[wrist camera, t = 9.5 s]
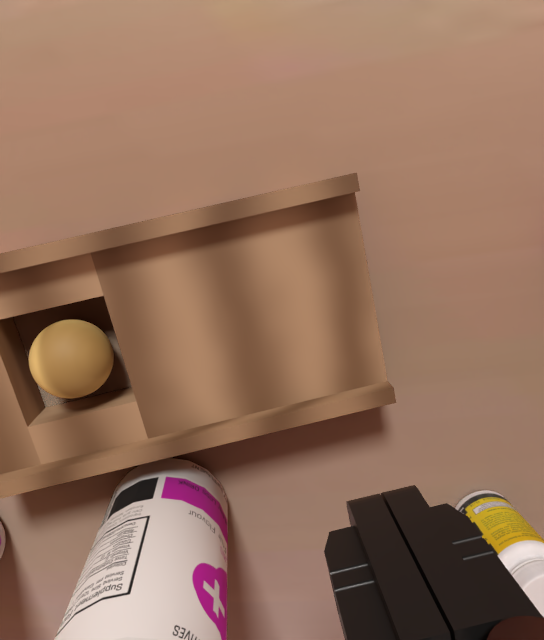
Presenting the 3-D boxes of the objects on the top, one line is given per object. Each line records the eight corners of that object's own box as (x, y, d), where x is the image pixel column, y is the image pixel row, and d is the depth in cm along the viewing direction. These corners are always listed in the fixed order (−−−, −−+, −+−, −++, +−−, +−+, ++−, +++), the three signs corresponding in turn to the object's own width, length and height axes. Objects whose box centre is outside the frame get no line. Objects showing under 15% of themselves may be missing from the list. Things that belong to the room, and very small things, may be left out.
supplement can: (226, 450, 35) (224, 625, 21) (228, 551, 37) (227, 777, 22) (109, 454, 34) (21, 638, 20) (117, 557, 36) (41, 793, 22)
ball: (55, 331, 26) (-1, 337, 29) (82, 412, 28) (26, 412, 30) (116, 306, 31) (63, 312, 33) (138, 377, 32) (85, 379, 34)
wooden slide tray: (340, 176, 31) (356, 172, 27) (376, 379, 35) (396, 402, 31) (-67, 269, 31) (-113, 279, 27) (10, 467, 34) (-20, 503, 30)
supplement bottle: (446, 495, 37) (506, 577, 29) (506, 482, 38) (583, 559, 29) (453, 549, 39) (513, 641, 30) (511, 535, 39) (586, 624, 31)
